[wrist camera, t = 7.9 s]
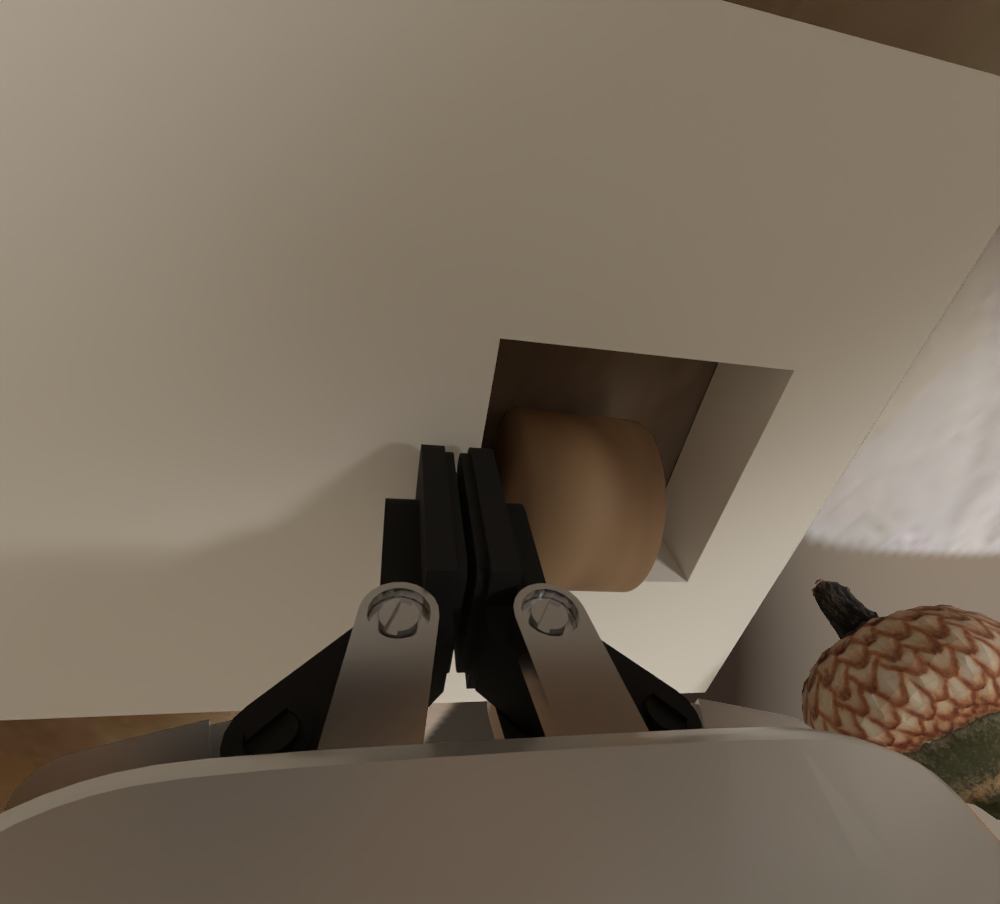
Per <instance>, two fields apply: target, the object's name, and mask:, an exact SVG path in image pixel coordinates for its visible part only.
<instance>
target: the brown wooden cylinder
mask: <svg viewBox="0 0 1000 904" xmlns="http://www.w3.org/2000/svg"><path fill="white" fill-rule="evenodd" d="M493 452H494V457H495V461H496V465H497V469H498V473H499V477H500V481H501V486H502V490H503V494H504V498H505V502H506V503H515V504H522V505H523V506H524V508H525V511H526V514H527V518H528V521H529V525H530V528H531V532H532V535H533V539H534V542H535V546H536V549H537V553H538V556H539V560H540V563H541V567H542V570H543V574H544V577H545V581H546V583H548V584H552V585H556V586H560V587H562V588H564V589H566V590H568V591H594V592H629V591H632V590H634V589H635V588H637V587H638V586H639V585H640V584H641V583H642V582H643V581H644V580H645V578H646V577H647V576H648V574H649V572H650V571H651V569H652V567H653V565H654V562H655V560H656V558H657V555H658V551H659V548H660V545H661V541H662V536H663V531H664V524H665V514H666V485H665V476H664V469H663V465H662V460H661V457H660V454H659V450H658V448H657V445H656V443H655V441H654V439H653V437H652V436H651V434H650V432H649V431H648V430H647V429H646V428H645V427H644V426H643V425H642V424H641V423H639V422H637V421H634V420H627V419H618V418H608V417H599V416H590V415H581V414H572V413H563V412H553V411H544V410H535V409H526V408H517V407H513V408H511V409H510V410H508V412H507V413H506V414H505V416H504V418H503V420H502V422H501V424H500V427H499V429H498V432H497V436H496V439H495V443H494V447H493Z"/></svg>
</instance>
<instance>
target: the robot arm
mask: <svg viewBox="0 0 1000 904" xmlns="http://www.w3.org/2000/svg"><path fill="white" fill-rule="evenodd" d="M453 652H454V654H455V666H456V672H457V673H465V678H466V689H475V691H476V692H478V693H479V694H480V695H481V696H483V697H484V698H485V699H486V700H487V701H488V704H487V708H488V715H489V719H490V722H491V726H492V729H493V733H494V736H495V740H483V741H464V742H446V743H430V744H423V742H424V734H425V726H426V718H427V710H428V707H429V706H430V705H431V704H432V703H433V702H434V701H435V700H436V699H437V698H438V697H439V696H440V695H441V694H442V693H443V692H444V687H445V681H446V676H447V673H449V672H450V668H451V662H452V657H453ZM0 904H1000V840H999V839H998V838H997V837H996V836H995V835H994V833H993V832H992V831H991V830H990V829H989V828H988V827H987V825H986V824H985V823H984V822H983V821H982V820H981V819H980V818H979V816H978V815H977V814H976V813H975V812H974V811H973V810H972V809H971V808H970V807H969V806H968V804H967V803H966V802H965V801H964V800H963V799H962V798H961V797H960V796H959V795H958V794H957V793H956V792H955V791H954V790H953V789H952V788H951V787H950V786H949V785H947V784H946V783H945V782H944V781H943V780H942V779H940V778H939V777H938V776H937V775H936V774H935V773H933V772H932V771H930V770H929V769H927V768H926V767H924V766H923V765H921V764H920V763H918V762H916V761H914V760H912V759H910V758H908V757H906V756H904V755H902V754H900V753H898V752H895V751H893V750H891V749H888V748H886V747H883V746H880V745H877V744H874V743H871V742H868V741H865V740H862V739H859V738H856V737H852V736H847V735H843V734H838V733H833V732H828V731H823V730H814V729H812V728H811V727H809V726H808V725H806V724H805V723H803V722H802V721H800V720H798V719H795V718H792V717H789V716H786V715H780V714H775V713H770V712H765V711H760V710H755V709H749V708H744V707H739V706H734V705H729V704H724V703H719V702H713V701H708V700H703V699H697V701H696V703H695V704H694V703H690V702H689V701H688V700H687V699H686V698H685V697H684V696H683V695H681V694H680V693H679V692H678V691H677V690H675V689H674V688H672V687H671V686H669V685H668V684H666V683H665V682H663V681H662V680H660V679H659V678H657V677H656V676H654V675H653V674H651V673H650V672H648V671H647V670H645V669H644V668H642V667H641V666H639V665H638V664H636V663H635V662H633V661H632V660H630V659H629V658H628V657H626V656H625V655H623V654H622V653H620V652H619V651H617V650H616V649H614V648H613V647H611V646H610V645H608V644H607V643H605V642H604V641H602V640H601V638H600V637H599V635H598V633H597V631H596V629H595V627H594V625H593V623H592V621H591V619H590V617H589V616H588V614H587V612H586V610H585V608H584V606H583V605H582V604H581V602H580V601H579V599H578V598H577V597H575V596H574V595H573V594H572V593H571V592H569V591H568V590H566V589H564V588H562V587H560V586H556V585H552V584H548V583H546V581H545V577H544V574H543V570H542V567H541V563H540V560H539V556H538V553H537V549H536V546H535V542H534V539H533V535H532V532H531V528H530V525H529V521H528V518H527V514H526V511H525V508H524V506H523V505H522V504H515V503H506V502H505V498H504V494H503V490H502V486H501V481H500V477H499V473H498V469H497V465H496V461H495V457H494V452H493V449H488V448H472V447H469V449H468V452H467V453H460V454H459V459H458V465H457V472H456V468H455V460H454V453H453V452H446V451H445V446H441V445H425V444H421V449H420V458H419V468H418V477H417V487H416V497H415V499H394V498H385V511H384V527H383V543H382V559H381V576H380V586H379V587H377V588H375V589H373V590H371V591H370V592H369V593H368V594H367V595H366V596H365V597H364V598H363V600H362V602H361V604H360V606H359V609H358V612H357V615H356V619H355V622H354V626H353V627H352V628H351V629H350V630H348V631H347V632H346V633H344V634H343V635H342V636H340V637H339V638H338V639H336V640H335V641H334V642H332V643H331V644H330V645H328V646H327V647H326V648H324V649H323V650H321V651H320V652H319V653H317V654H316V655H315V656H313V657H312V658H311V659H309V660H308V661H307V662H305V663H304V664H303V665H301V666H300V667H299V668H297V669H296V670H295V671H293V672H292V673H291V674H289V675H288V676H287V677H285V678H284V679H282V680H281V681H280V682H278V683H277V684H276V685H274V686H273V687H272V688H270V689H269V690H268V691H266V692H265V693H264V694H262V695H261V696H260V697H258V698H257V699H256V700H254V701H253V702H252V703H250V704H249V705H248V706H246V707H245V708H244V709H243V710H242V711H241V712H240V713H239V714H238V715H237V716H235V717H234V718H233V720H230V721H226V722H222V723H218V724H214V725H211V723H210V719H209V720H205V721H200V722H196V723H192V724H188V725H184V726H180V727H176V728H172V729H168V730H164V731H160V732H156V733H152V734H148V735H143V736H139V737H135V738H131V739H127V740H123V741H119V742H115V743H111V744H107V745H103V746H99V747H95V748H90V749H86V750H82V751H78V752H74V753H71V754H68V755H65V756H63V757H60V758H58V759H55V760H52V761H50V762H49V763H47V764H46V765H44V766H43V767H41V768H40V769H38V770H37V771H35V772H34V773H32V774H31V775H30V776H29V777H28V778H27V779H26V780H25V781H24V782H23V783H22V784H21V785H20V786H19V787H18V788H17V789H16V790H15V792H14V793H13V794H12V796H11V798H10V800H9V802H8V804H7V806H6V808H5V810H4V811H3V812H2V813H0Z"/></svg>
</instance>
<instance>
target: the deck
mask: <svg viewBox="0 0 1000 904" xmlns="http://www.w3.org/2000/svg"><path fill="white" fill-rule="evenodd" d="M999 226H1000V76H998V75H994V74H991V73H987V72H983V71H980V70H976V69H972V68H969V67H965V66H961V65H958V64H954V63H950V62H947V61H943V60H939V59H936V58H932V57H928V56H925V55H921V54H917V53H914V52H910V51H906V50H903V49H899V48H895V47H892V46H888V45H884V44H881V43H877V42H873V41H870V40H866V39H862V38H859V37H855V36H851V35H848V34H844V33H840V32H837V31H833V30H829V29H826V28H822V27H818V26H815V25H811V24H807V23H804V22H800V21H796V20H793V19H789V18H785V17H782V16H778V15H774V14H771V13H767V12H763V11H760V10H756V9H752V8H749V7H745V6H741V5H738V4H734V3H730V2H727V1H723V0H0V720H23V719H48V718H73V717H99V716H124V715H149V714H174V713H199V712H224V711H242V710H243V709H244V708H245V707H246V706H248V705H249V704H250V703H252V702H253V701H254V700H256V699H257V698H258V697H260V696H261V695H262V694H264V693H265V692H266V691H268V690H269V689H270V688H272V687H273V686H274V685H276V684H277V683H278V682H280V681H281V680H282V679H284V678H285V677H287V676H288V675H289V674H291V673H292V672H293V671H295V670H296V669H297V668H299V667H300V666H301V665H303V664H304V663H305V662H307V661H308V660H309V659H311V658H312V657H313V656H315V655H316V654H317V653H319V652H320V651H321V650H323V649H324V648H326V647H327V646H328V645H330V644H331V643H332V642H334V641H335V640H336V639H338V638H339V637H340V636H342V635H343V634H344V633H346V632H347V631H348V630H350V629H351V628H352V627H353V626H354V622H355V619H356V615H357V612H358V609H359V606H360V604H361V602H362V600H363V598H364V597H365V596H366V595H367V594H368V593H369V592H370V591H371V590H373V589H375V588H377V587H379V586H380V576H381V559H382V543H383V527H384V511H385V498H394V499H415V497H416V487H417V477H418V468H419V458H420V449H421V444H425V445H441V446H445V451H446V452H453V453H454V460H455V468H456V472H457V465H458V459H459V454H460V453H467V452H468V449H469V447H472V448H481V445H482V439H483V434H484V428H485V422H486V416H487V411H488V405H489V399H490V394H491V388H492V382H493V377H494V371H495V365H496V359H497V354H498V348H499V342H500V338H501V339H510V340H520V341H529V342H538V343H547V344H556V345H566V346H575V347H584V348H593V349H602V350H611V351H621V352H630V353H639V354H648V355H657V356H667V357H676V358H685V359H694V360H703V361H712V362H719V363H718V365H717V367H716V370H715V372H714V374H713V377H712V379H711V382H710V384H709V386H708V389H707V391H706V394H705V396H704V398H703V401H702V403H701V406H700V408H699V410H698V413H697V415H696V418H695V420H694V422H693V425H692V427H691V429H690V432H689V434H688V437H687V439H686V441H685V444H684V446H683V449H682V451H681V453H680V456H679V458H678V461H677V463H676V465H675V468H674V470H673V473H672V475H671V477H670V480H669V482H668V484H667V487H666V514H665V524H664V531H663V536H662V541H661V545H660V548H659V551H658V555H657V558H656V560H655V562H654V565H653V567H652V569H651V571H650V572H649V574H648V576H647V577H646V578H645V580H644V581H643V582H642V583H641V584H640V585H639V586H638V587H637V588H635V589H634V590H632V591H629V592H594V591H569V592H571V593H572V594H573V595H574V596H575V597H577V598H578V599H579V601H580V602H581V604H582V605H583V606H584V608H585V610H586V612H587V614H588V616H589V617H590V619H591V621H592V623H593V625H594V627H595V629H596V631H597V633H598V635H599V637H600V638H601V640H602V641H604V642H605V643H607V644H608V645H610V646H611V647H613V648H614V649H616V650H617V651H619V652H620V653H622V654H623V655H625V656H626V657H628V658H629V659H630V660H632V661H633V662H635V663H636V664H638V665H639V666H641V667H642V668H644V669H645V670H647V671H648V672H650V673H651V674H653V675H654V676H656V677H657V678H659V679H660V680H662V681H663V682H665V683H666V684H668V685H669V686H671V687H672V688H674V689H675V690H677V691H678V692H679V693H700V692H706V690H707V689H708V687H709V686H710V684H711V682H712V681H713V679H714V678H715V676H716V674H717V673H718V671H719V670H720V668H721V666H722V665H723V663H724V662H725V660H726V658H727V657H728V655H729V654H730V652H731V651H732V649H733V647H734V646H735V644H736V643H737V641H738V640H739V638H740V636H741V635H742V633H743V632H744V630H745V628H746V627H747V625H748V624H749V622H750V621H751V619H752V617H753V616H754V614H755V613H756V611H757V609H758V608H759V606H760V605H761V603H762V601H763V600H764V598H765V597H766V595H767V594H768V592H769V590H770V589H771V587H772V586H773V584H774V583H775V581H776V579H777V578H778V576H779V575H780V573H781V571H782V570H783V568H784V567H785V565H786V563H787V562H788V560H789V559H790V557H791V555H792V554H793V552H794V550H795V549H796V548H797V546H798V545H799V543H800V541H801V540H802V538H803V537H804V535H805V533H806V532H807V530H808V529H809V527H810V525H811V524H812V522H813V521H814V519H815V518H816V516H817V514H818V513H819V511H820V510H821V508H822V506H823V505H824V503H825V502H826V500H827V499H828V497H829V495H830V494H831V492H832V491H833V489H834V487H835V486H836V484H837V483H838V481H839V480H840V478H841V476H842V475H843V473H844V472H845V470H846V468H847V467H848V465H849V464H850V462H851V461H852V459H853V457H854V456H855V454H856V453H857V451H858V449H859V448H860V446H861V445H862V443H863V442H864V440H865V438H866V437H867V435H868V434H869V432H870V430H871V429H872V427H873V426H874V424H875V422H876V421H877V419H878V418H879V416H880V415H881V413H882V411H883V410H884V408H885V407H886V405H887V403H888V402H889V400H890V399H891V397H892V396H893V394H894V392H895V391H896V389H897V388H898V386H899V384H900V383H901V381H902V380H903V378H904V377H905V375H906V373H907V372H908V370H909V369H910V367H911V365H912V364H913V362H914V361H915V359H916V358H917V356H918V354H919V353H920V351H921V350H922V348H923V346H924V345H925V343H926V342H927V340H928V339H929V337H930V335H931V334H932V332H933V331H934V329H935V327H936V326H937V324H938V323H939V321H940V319H941V318H942V316H943V315H944V313H945V312H946V310H947V308H948V307H949V305H950V304H951V302H952V300H953V299H954V297H955V296H956V294H957V293H958V291H959V289H960V288H961V286H962V285H963V283H964V281H965V280H966V278H967V277H968V275H969V274H970V272H971V270H972V269H973V267H974V266H975V264H976V262H977V261H978V259H979V258H980V256H981V255H982V253H983V251H984V250H985V248H986V247H987V245H988V243H989V242H990V240H991V239H992V237H993V236H994V234H995V232H996V231H997V229H998V228H999ZM474 701H487V700H486V699H485V698H484V697H483V696H481V695H480V694H479V693H478V692H476V691H475V689H466V678H465V673H457V672H456V666H455V654H454V652H453V657H452V662H451V668H450V672H449V673H447V676H446V681H445V687H444V692H443V693H442V694H441V695H440V696H439V697H438V698H437V699H436V700H435V701H434V702H433V703H450V702H474Z"/></svg>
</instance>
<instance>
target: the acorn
mask: <svg viewBox="0 0 1000 904" xmlns="http://www.w3.org/2000/svg"><path fill="white" fill-rule="evenodd" d="M815 584H817V586H816V587H815V588H813V589H812V591H813V595H814V596H815V599H816V601H817V603H818V605H819V607H820V609H821V610H822V612H823V613H824V615H825V616H826V618H827V619H828V620H829V622H830V624H831V625H832V626H833V628H834V629H835V631H836V632H837V634H838V635H839V638H840V639H841V640H839V641H838V642H836V643H835V644H834V645H833V646H832V647H831V648H828V649H827V650H825V651H824V652H823V653H822V654H821V656H820V658H819V660H818V661H817V663H816V664H815V665H814V666H813V668H812V669H811V670H810V675H809V677H808V678H807V680H806V681H805V682H804V687H803V690H802V702H803V704H802V711H803V718H804V723H805V724H806V725H808V726H809V727H811V728H812V729H814V730H823V731H828V732H833V733H838V734H843V735H847V736H852V737H856V738H859V739H862V740H865V741H868V742H871V743H874V744H877V745H880V746H883V747H886V748H888V749H891V750H893V751H895V752H898V753H900V754H902V755H904V756H906V757H908V758H910V759H912V760H914V761H916V762H918V763H920V764H921V765H923V766H924V767H926V768H927V769H929V770H930V771H932V772H933V773H935V774H936V775H937V776H938V777H939V778H940V779H942V780H943V781H944V782H945V783H946V784H947V785H949V786H950V787H951V788H952V789H953V790H954V791H955V792H956V793H957V794H958V795H959V796H960V797H961V798H962V799H963V800H964V801H965V802H966V803H970V804H974V805H976V806H978V807H980V808H981V809H983V810H984V811H986V812H987V813H989V814H990V815H991V816H993V817H995V818H996V819H999V820H1000V622H998V621H996V620H994V619H992V618H989V617H988V616H986V615H984V614H982V613H978V612H973V611H965V610H962V609H959V608H955V607H952V606H949V605H937V606H919V607H916V608H913V609H908V610H903V611H897V612H895V613H893V614H891V615H889V616H886V617H878V615H877V613H876V612H873V611H871V610H868V609H867V608H866V607H865V606H864V605H863V604H862V603H861V602H859V601H858V600H857V599H856V598H855V597H854V596H853V595H852V594H851V593H850V589H849V588H848V587H844V586H842V585H840V584H839V583H838V582H829V581H823V580H821V579H819V580H817V581H816V583H815Z"/></svg>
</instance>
